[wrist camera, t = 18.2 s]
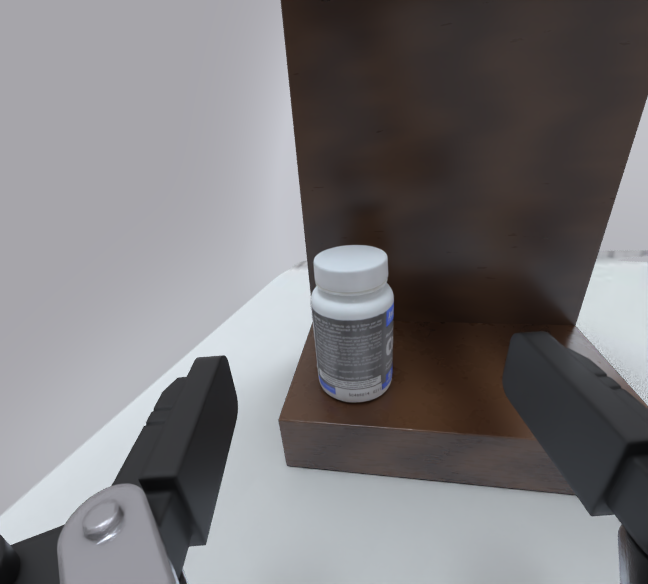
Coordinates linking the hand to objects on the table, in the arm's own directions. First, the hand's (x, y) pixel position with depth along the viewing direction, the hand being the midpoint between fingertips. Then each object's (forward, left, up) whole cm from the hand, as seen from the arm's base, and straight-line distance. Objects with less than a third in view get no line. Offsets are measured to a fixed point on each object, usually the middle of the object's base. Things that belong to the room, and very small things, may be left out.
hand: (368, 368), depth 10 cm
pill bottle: (-1, +9, -9) cm, 13 cm away
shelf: (+5, +11, -13) cm, 18 cm away
